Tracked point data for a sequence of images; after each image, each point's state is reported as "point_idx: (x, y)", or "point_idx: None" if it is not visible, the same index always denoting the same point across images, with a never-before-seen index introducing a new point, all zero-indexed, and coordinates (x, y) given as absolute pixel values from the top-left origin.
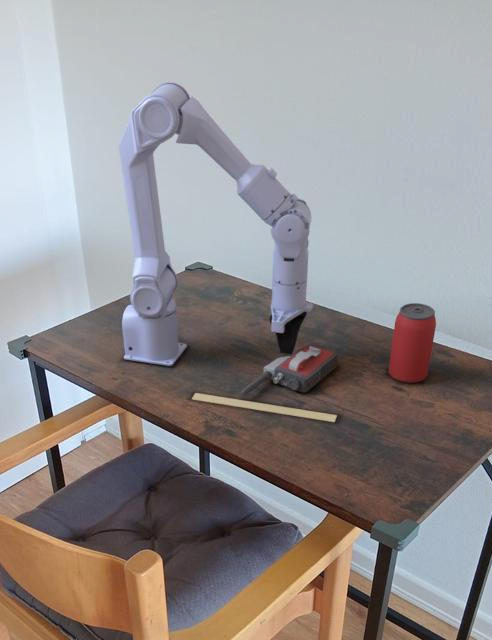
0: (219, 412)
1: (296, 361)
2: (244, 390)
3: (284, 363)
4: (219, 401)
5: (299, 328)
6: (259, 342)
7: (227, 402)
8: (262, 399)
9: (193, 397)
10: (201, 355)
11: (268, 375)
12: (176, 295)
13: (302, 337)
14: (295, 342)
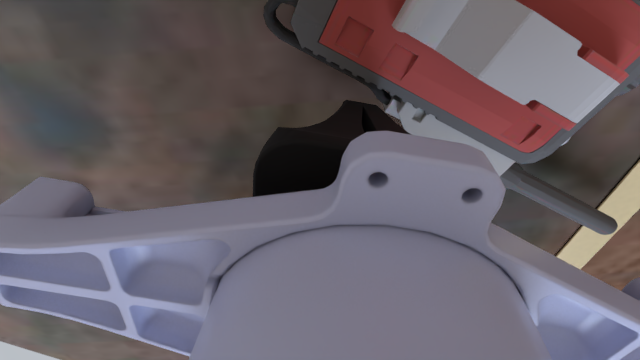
0: (637, 252)
1: (592, 95)
2: (614, 229)
3: (501, 134)
4: (581, 257)
5: (335, 126)
6: (231, 192)
7: (594, 242)
8: (606, 160)
9: None
10: None
11: (519, 169)
12: (85, 342)
13: (140, 58)
14: (357, 110)
